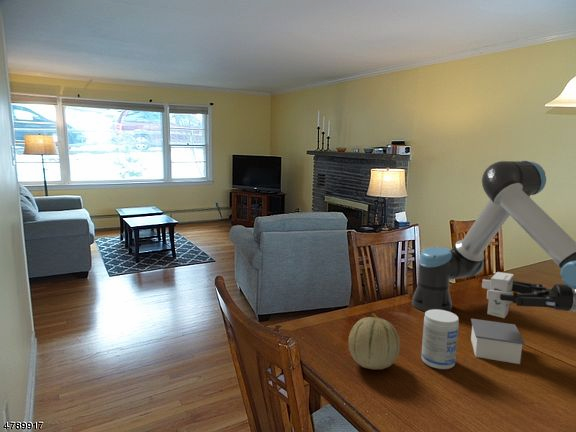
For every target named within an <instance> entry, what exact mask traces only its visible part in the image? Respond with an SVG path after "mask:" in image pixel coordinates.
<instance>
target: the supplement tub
mask: <svg viewBox="0 0 576 432" xmlns="http://www.w3.org/2000/svg"><path fill="white" fill-rule="evenodd" d="M459 325H460V323H459V316H458V315H457V314H456V313H453V312H451V311H445V310H437V309H433V310H428V311H426V312H425V311H424V318H423V326H422V327H423V328H422V329H423V330H422V342H421V343H422V344H421V353H420V355H421V360H422V361H423V363H425V365H427V366H428V367H431V368H434V369H436V370H449V369H452V368H453V367H454V366H455V365H456V361H457V360H456V357H457V348H458V347H457V346H458V336H459V335H458V334H459Z"/></svg>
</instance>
